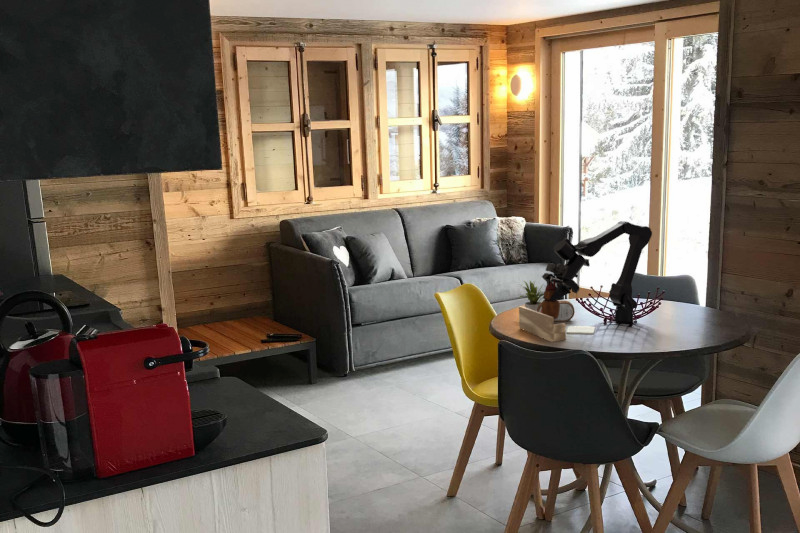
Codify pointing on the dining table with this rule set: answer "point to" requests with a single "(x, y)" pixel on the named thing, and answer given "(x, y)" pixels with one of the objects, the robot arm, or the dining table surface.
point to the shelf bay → (541, 325)
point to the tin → (562, 311)
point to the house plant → (532, 296)
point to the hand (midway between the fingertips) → (547, 299)
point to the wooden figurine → (547, 305)
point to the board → (580, 330)
